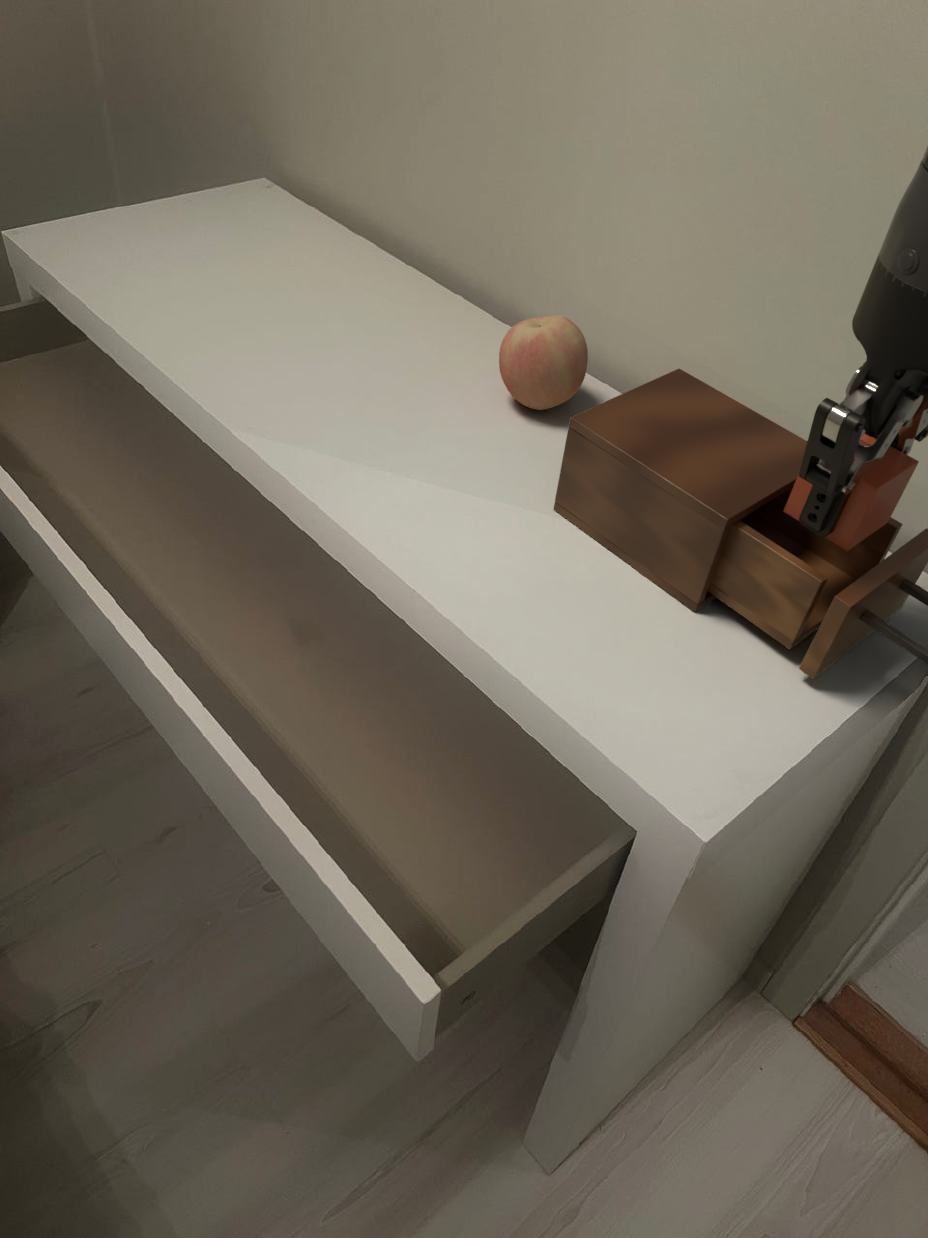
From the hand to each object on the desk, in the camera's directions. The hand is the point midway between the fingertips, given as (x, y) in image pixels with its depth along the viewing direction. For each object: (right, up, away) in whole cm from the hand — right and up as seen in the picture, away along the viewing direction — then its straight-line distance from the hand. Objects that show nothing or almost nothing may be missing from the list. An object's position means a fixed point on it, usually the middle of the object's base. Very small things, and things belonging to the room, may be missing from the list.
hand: (838, 512), depth 62 cm
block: (0, 0, 0) cm, 0 cm away
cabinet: (-8, 0, +12) cm, 15 cm away
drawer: (0, -7, +5) cm, 8 cm away
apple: (-18, +13, +24) cm, 33 cm away
